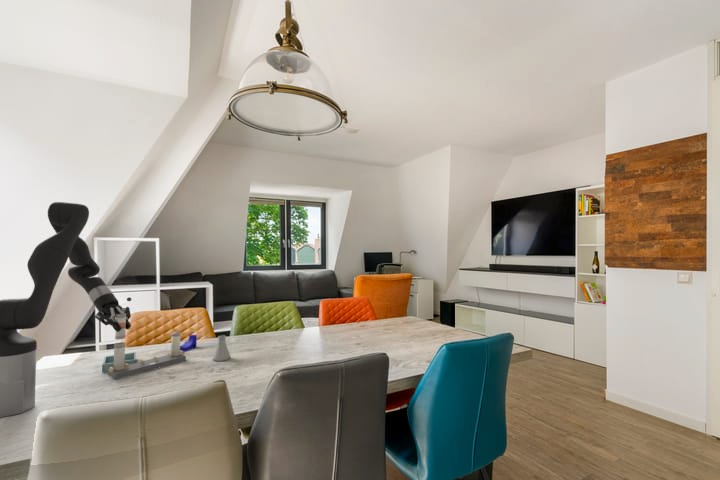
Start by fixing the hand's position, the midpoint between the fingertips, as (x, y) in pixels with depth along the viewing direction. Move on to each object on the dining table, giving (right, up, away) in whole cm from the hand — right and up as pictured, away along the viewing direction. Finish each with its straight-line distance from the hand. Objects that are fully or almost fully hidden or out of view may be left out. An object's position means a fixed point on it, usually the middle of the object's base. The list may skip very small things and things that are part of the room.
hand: (124, 329), depth 139 cm
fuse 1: (+6, -13, -11) cm, 18 cm away
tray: (-2, -15, 0) cm, 15 cm away
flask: (+37, -16, +8) cm, 41 cm away
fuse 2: (+18, -13, +6) cm, 23 cm away
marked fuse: (-2, -4, 0) cm, 4 cm away
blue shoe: (+13, -16, +22) cm, 30 cm away
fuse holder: (+12, -15, -2) cm, 19 cm away
